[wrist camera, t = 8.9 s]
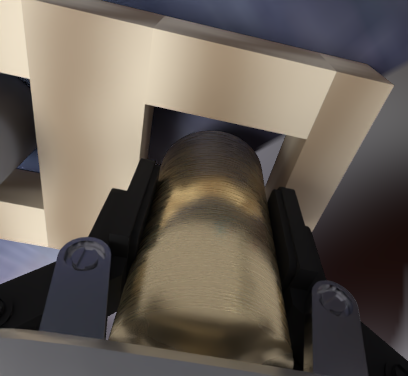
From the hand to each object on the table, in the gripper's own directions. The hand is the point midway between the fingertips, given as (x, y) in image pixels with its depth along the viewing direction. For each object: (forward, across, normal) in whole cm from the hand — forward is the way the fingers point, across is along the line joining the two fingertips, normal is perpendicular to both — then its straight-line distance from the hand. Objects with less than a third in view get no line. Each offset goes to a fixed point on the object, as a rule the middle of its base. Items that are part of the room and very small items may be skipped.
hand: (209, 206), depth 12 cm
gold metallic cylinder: (+2, 0, 0) cm, 2 cm away
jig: (+4, +5, 0) cm, 6 cm away
